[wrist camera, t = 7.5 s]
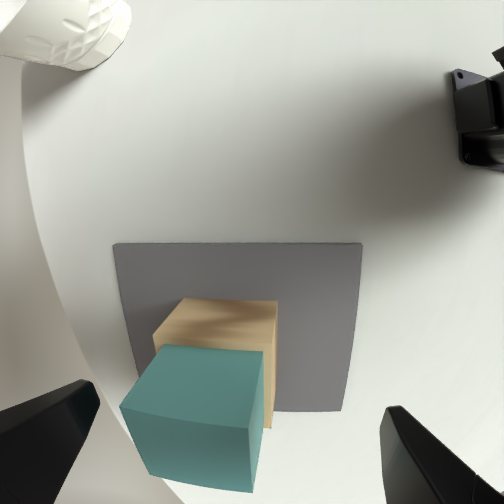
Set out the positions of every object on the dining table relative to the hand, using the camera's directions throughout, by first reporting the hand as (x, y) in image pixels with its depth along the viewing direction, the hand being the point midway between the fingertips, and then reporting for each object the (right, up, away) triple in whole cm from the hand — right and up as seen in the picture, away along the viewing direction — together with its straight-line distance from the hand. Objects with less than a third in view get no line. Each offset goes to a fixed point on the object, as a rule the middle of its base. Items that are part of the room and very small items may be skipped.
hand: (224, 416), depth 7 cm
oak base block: (-1, -1, +12) cm, 12 cm away
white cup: (-11, +21, +8) cm, 25 cm away
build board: (0, -1, +12) cm, 13 cm away
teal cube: (-1, -3, +7) cm, 8 cm away
